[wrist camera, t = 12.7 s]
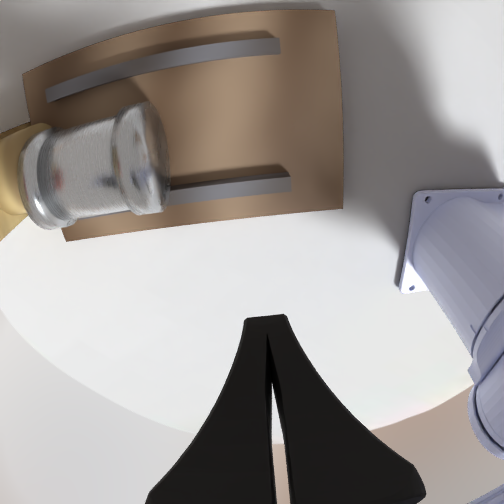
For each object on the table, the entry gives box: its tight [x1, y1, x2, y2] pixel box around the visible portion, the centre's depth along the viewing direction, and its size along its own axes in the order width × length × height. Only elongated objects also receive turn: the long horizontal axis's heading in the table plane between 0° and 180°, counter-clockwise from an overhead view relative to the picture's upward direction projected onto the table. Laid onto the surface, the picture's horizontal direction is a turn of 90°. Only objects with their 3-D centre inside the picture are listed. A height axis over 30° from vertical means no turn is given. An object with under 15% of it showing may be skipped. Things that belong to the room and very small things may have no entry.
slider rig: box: [0, 10, 343, 242], centre depth 12 cm, size 22×11×9 cm, turn 96°
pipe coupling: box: [17, 101, 171, 230], centre depth 13 cm, size 6×5×5 cm
